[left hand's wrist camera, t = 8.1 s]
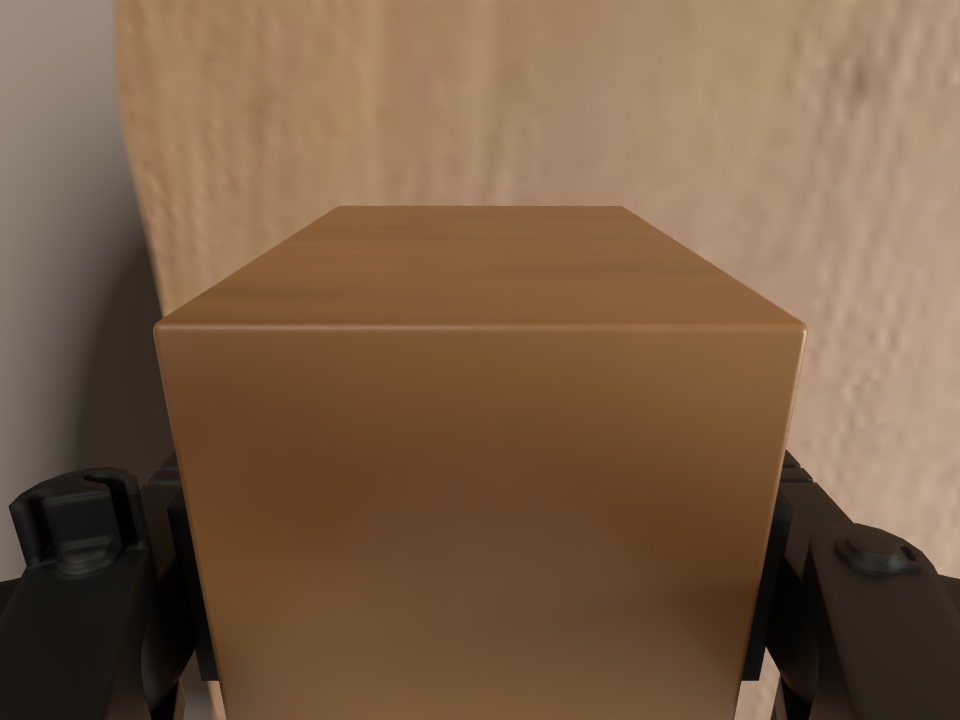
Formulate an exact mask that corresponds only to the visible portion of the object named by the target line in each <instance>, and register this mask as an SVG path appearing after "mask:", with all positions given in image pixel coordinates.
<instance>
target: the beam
mask: <svg viewBox="0 0 960 720" xmlns="http://www.w3.org/2000/svg"><path fill="white" fill-rule="evenodd" d="M807 335H808V332H807V326H806V324H805V323H803V322H802V321H800V320H799V319H797V318H796V317H794V316H793V315H791V314H789V313H788V312H786V311H785V310H783V309H782V308H780V307H779V306H777V305H775V304H774V303H772V302H771V301H769V300H768V299H766V298H765V297H763V296H761V295H760V294H758V293H757V292H755V291H754V290H752V289H751V288H749V287H747V286H746V285H744V284H743V283H741V282H740V281H738V280H736V279H735V278H733V277H732V276H730V275H729V274H727V273H726V272H724V271H722V270H721V269H719V268H718V267H716V266H715V265H713V264H712V263H710V262H708V261H707V260H705V259H704V258H702V257H701V256H699V255H698V254H696V253H694V252H693V251H691V250H690V249H688V248H687V247H685V246H684V245H682V244H680V243H679V242H677V241H676V240H674V239H673V238H671V237H670V236H668V235H666V234H665V233H663V232H662V231H660V230H659V229H657V228H656V227H654V226H652V225H651V224H649V223H648V222H646V221H645V220H643V219H642V218H640V217H638V216H637V215H635V214H634V213H632V212H631V211H629V210H628V209H626V208H624V207H622V206H339V207H336V208H335V209H333V210H332V211H330V212H328V213H327V214H325V215H324V216H322V217H321V218H319V219H318V220H316V221H314V222H313V223H311V224H310V225H308V226H307V227H305V228H303V229H302V230H300V231H299V232H297V233H296V234H294V235H293V236H291V237H289V238H288V239H286V240H285V241H283V242H282V243H280V244H279V245H277V246H275V247H274V248H272V249H271V250H269V251H268V252H266V253H264V254H263V255H261V256H260V257H258V258H257V259H255V260H254V261H252V262H250V263H249V264H247V265H246V266H244V267H243V268H241V269H239V270H238V271H236V272H235V273H233V274H232V275H230V276H229V277H227V278H225V279H224V280H222V281H221V282H219V283H218V284H216V285H214V286H213V287H211V288H210V289H208V290H207V291H205V292H204V293H202V294H200V295H199V296H197V297H196V298H194V299H193V300H191V301H190V302H188V303H186V304H185V305H183V306H182V307H180V308H179V309H177V310H175V311H174V312H172V313H171V314H169V315H168V316H166V317H165V318H163V319H161V320H160V321H158V322H157V323H155V325H154V330H153V336H154V341H155V346H156V352H157V357H158V362H159V367H160V373H161V378H162V383H163V388H164V394H165V399H166V404H167V409H168V415H169V420H170V425H171V431H172V436H173V441H174V446H175V452H176V457H177V462H178V467H179V473H180V478H181V483H182V488H183V494H184V499H185V504H186V509H187V515H188V520H189V525H190V531H191V536H192V541H193V546H194V552H195V557H196V562H197V567H198V573H199V578H200V583H201V588H202V594H203V599H204V604H205V609H206V615H207V620H208V625H209V630H210V636H211V641H212V646H213V651H214V657H215V662H216V667H217V673H218V678H219V683H220V688H221V694H222V699H223V704H224V709H225V715H226V720H734V716H735V711H736V706H737V701H738V695H739V690H740V685H741V680H742V675H743V669H744V664H745V659H746V654H747V648H748V643H749V638H750V633H751V628H752V622H753V617H754V612H755V607H756V601H757V596H758V591H759V586H760V581H761V575H762V570H763V565H764V560H765V554H766V549H767V544H768V539H769V533H770V528H771V523H772V518H773V513H774V507H775V502H776V497H777V492H778V486H779V481H780V476H781V471H782V466H783V460H784V455H785V450H786V445H787V439H788V434H789V429H790V424H791V419H792V413H793V408H794V403H795V398H796V392H797V387H798V382H799V377H800V371H801V366H802V361H803V356H804V351H805V345H806V340H807Z"/></svg>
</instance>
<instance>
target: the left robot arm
mask: <svg viewBox="0 0 960 720" xmlns="http://www.w3.org/2000/svg"><path fill="white" fill-rule="evenodd" d="M9 509H10V512H11V516H12V519H13V522H14V526H15V529H16V532H17V536H18V539H19V542H20V545H21V548H22V552H23V555H24V558H25V562H26V565H27V567H26V569H25V571H24V573H23V574H22V576H21V578H17V579H13V580H8V581H4V582H0V720H183V717H184V710H185V699H184V692H183V687H182V682H181V678H180V676H181V674H182V672H183V670H184V668H185V666H186V665H187V663H188V661H189V659H190V657H191V655H192V653H193V651H194V650H196V655H197V660H198V665H199V670H200V675H201V680H202V681H219V678H218V673H217V667H216V662H215V657H214V651H213V646H212V641H211V636H210V630H209V625H208V620H207V615H206V609H205V604H204V599H203V594H202V588H201V583H200V578H199V573H198V567H197V562H196V557H195V552H194V546H193V541H192V536H191V531H190V525H189V520H188V515H187V509H186V504H185V499H184V494H183V488H182V483H181V478H180V473H179V467H178V462H177V457H176V452H174V453H173V454H172V455H171V456H170V457H169V458H168V460H167V461H166V462H165V463H164V464H163V465H162V466H161V470H158V471H157V472H156V473H155V474H154V475H153V476H152V477H151V478H150V479H149V481H148V485H144V486H143V487H142V488H141V489H140V490H139V486H138V482H137V477H136V476H134V475H133V474H131V473H130V472H128V471H127V470H122V469H116V468H111V467H108V468H89V469H84V470H79V471H75V472H70V473H65V474H62V475H60V476H57V477H54V478H51V479H49V480H46V481H43V482H41V483H39V484H37V485H35V486H34V487H32V488H30V489H29V490H27V491H25V492H23V493H22V494H20V495H19V496H18V497H17V498H16V499H15V500H14V501H13V502H12V503H11V504H10V505H9ZM766 647H767V649H768V651H769V653H770V655H771V657H772V658H773V660H774V662H775V664H776V666H777V668H778V670H779V671H780V678H779V682H778V687H777V692H776V696H775V701H774V705H773V710H772V714H771V719H770V720H960V579H957V578H952V577H947V576H943V575H939V574H938V573H937V571H936V569H935V568H934V566H933V564H932V563H931V562H930V561H929V560H928V558H927V557H926V556H925V555H924V554H923V552H922V551H920V550H919V549H917V548H916V547H914V546H913V545H911V544H910V543H908V542H907V541H905V540H904V539H902V538H900V537H898V536H895V535H893V534H891V533H888V532H886V531H884V530H881V529H878V528H874V527H870V526H866V525H862V524H858V523H853V522H852V521H851V520H850V519H849V518H848V517H847V515H846V514H845V513H844V512H843V511H842V510H841V509H840V508H839V507H838V506H837V504H836V503H835V502H834V501H833V500H832V499H831V498H830V497H829V496H828V495H827V493H826V492H825V491H824V490H823V489H822V488H821V487H820V486H819V485H818V484H817V483H814V482H813V478H812V477H811V476H810V475H809V474H808V473H807V472H806V470H805V469H804V468H800V464H799V463H798V462H797V461H796V460H795V458H794V457H793V456H792V455H791V454H790V453H789V452H788V451H787V450H785V455H784V460H783V466H782V471H781V476H780V481H779V486H778V492H777V497H776V502H775V507H774V513H773V518H772V523H771V528H770V533H769V539H768V544H767V549H766V554H765V560H764V565H763V570H762V575H761V581H760V586H759V591H758V596H757V601H756V607H755V612H754V617H753V622H752V628H751V633H750V638H749V643H748V648H747V654H746V659H745V664H744V669H743V675H742V680H741V681H759V677H760V672H761V667H762V663H763V658H764V653H765V648H766Z"/></svg>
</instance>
